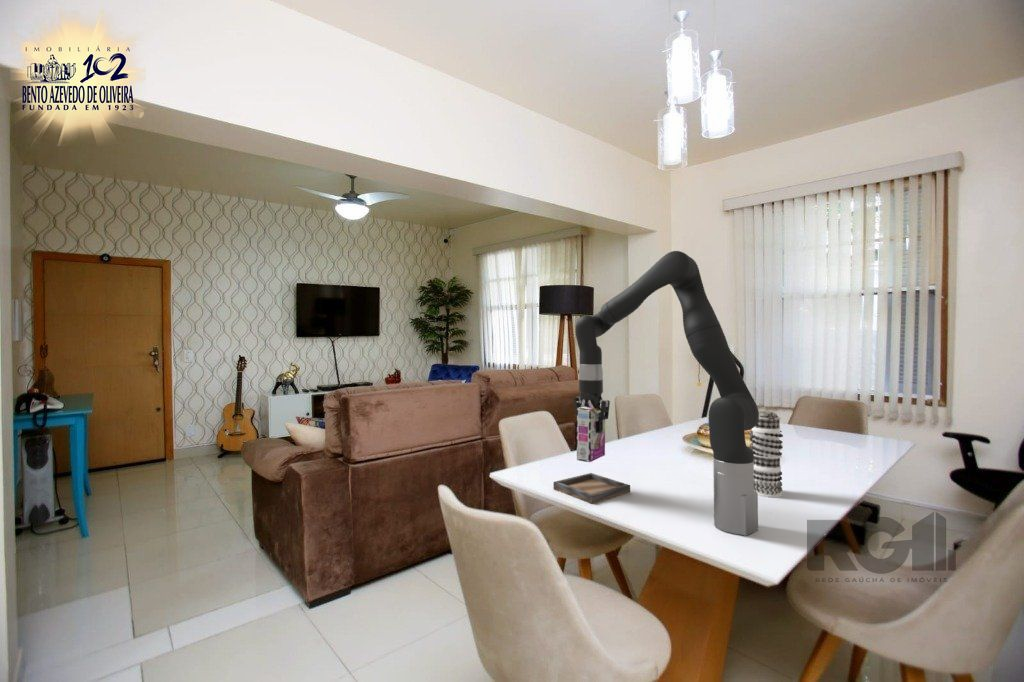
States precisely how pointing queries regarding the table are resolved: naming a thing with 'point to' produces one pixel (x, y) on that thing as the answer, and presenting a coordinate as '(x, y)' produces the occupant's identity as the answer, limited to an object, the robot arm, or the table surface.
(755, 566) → the table surface
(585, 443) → the candy bar box
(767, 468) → the decorative candle
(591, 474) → the wooden tray
